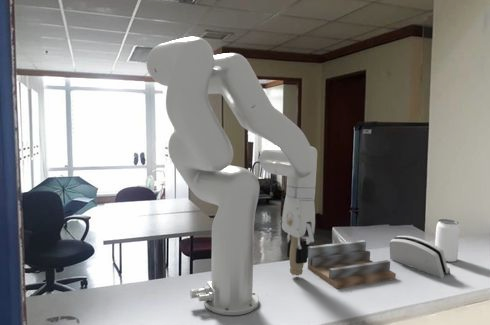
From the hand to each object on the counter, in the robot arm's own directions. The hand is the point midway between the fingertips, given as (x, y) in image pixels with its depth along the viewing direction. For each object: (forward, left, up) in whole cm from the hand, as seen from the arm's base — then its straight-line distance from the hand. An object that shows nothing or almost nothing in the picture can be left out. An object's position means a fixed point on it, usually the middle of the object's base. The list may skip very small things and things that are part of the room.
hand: (296, 259), depth 103 cm
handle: (0, 0, -4) cm, 4 cm away
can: (+52, -3, -5) cm, 52 cm away
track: (+16, -3, -5) cm, 17 cm away
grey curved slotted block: (+38, -5, -5) cm, 38 cm away
